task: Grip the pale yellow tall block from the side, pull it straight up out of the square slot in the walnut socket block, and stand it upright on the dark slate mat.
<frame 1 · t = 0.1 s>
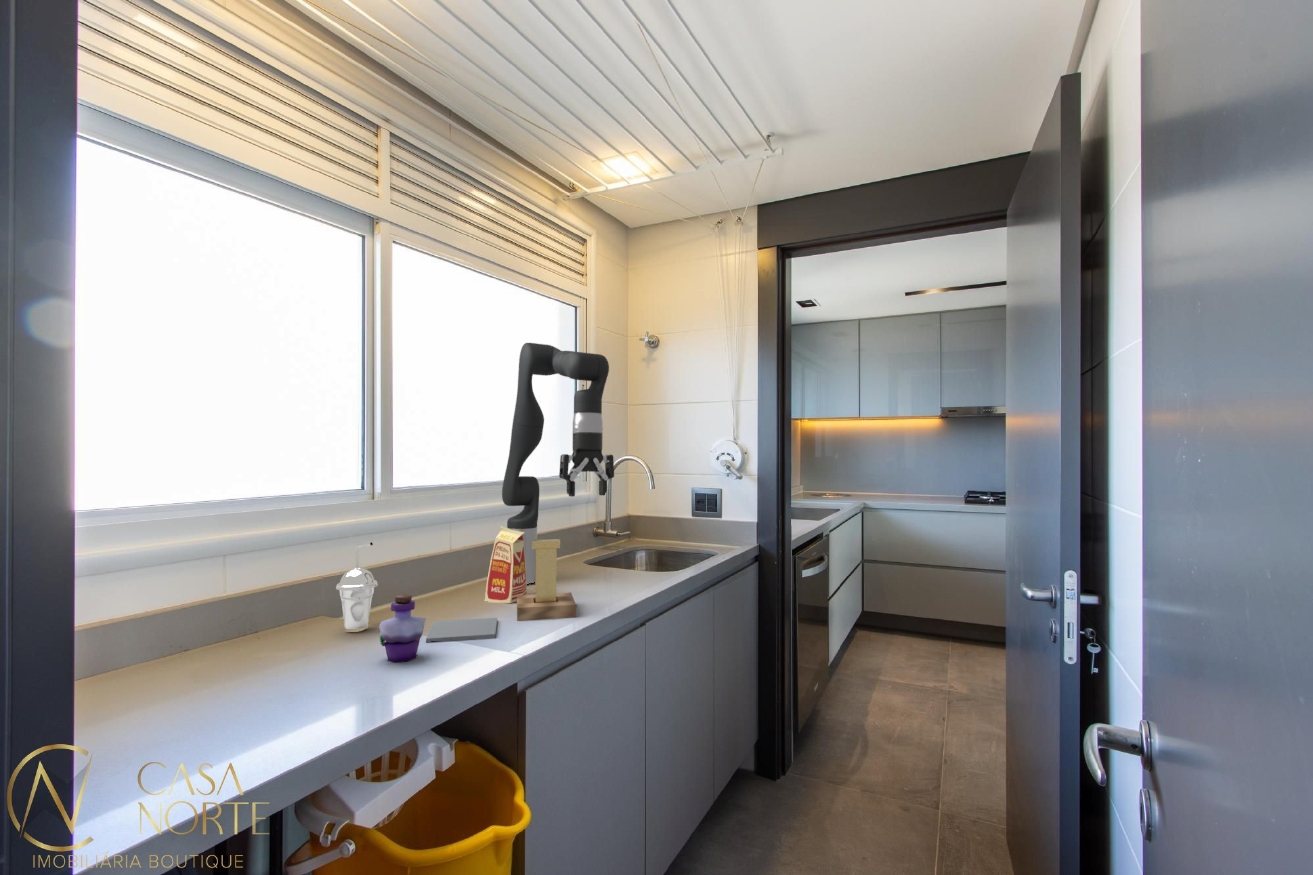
hand: (587, 495, 150), 29 cm above the table, tool pointing down, fingers open, 8 cm apart
socket block: (545, 611, 150), on the table
drinking straw: (356, 631, 134), on the table
pale yellow tall block: (545, 575, 151), in the socket block
slate mat: (463, 631, 133), on the table
milk carton: (508, 599, 165), on the table
potion bottle: (402, 659, 115), on the table
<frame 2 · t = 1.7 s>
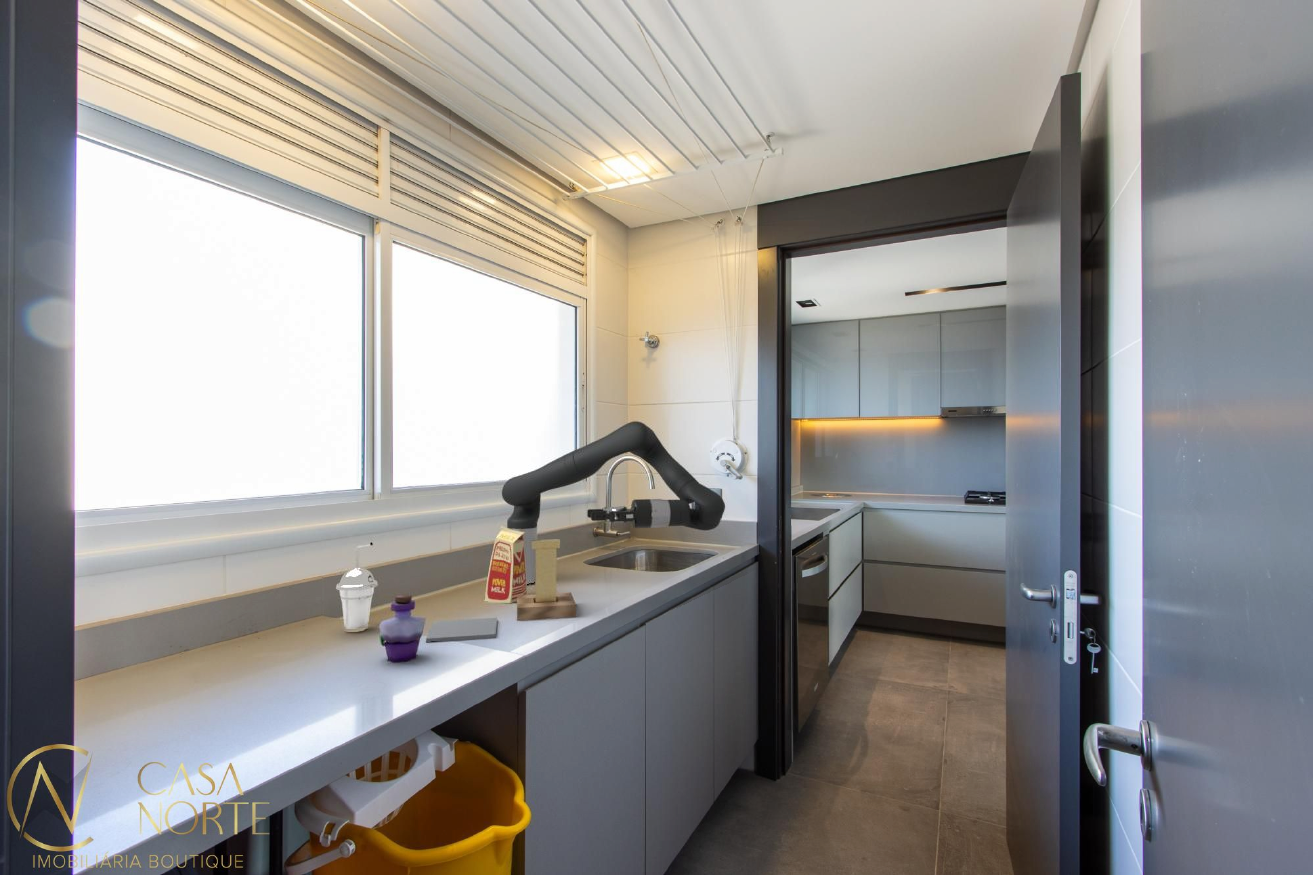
hand: (589, 514, 154), 24 cm above the table, tool horizontal, fingers open, 8 cm apart
nothing on the table moved.
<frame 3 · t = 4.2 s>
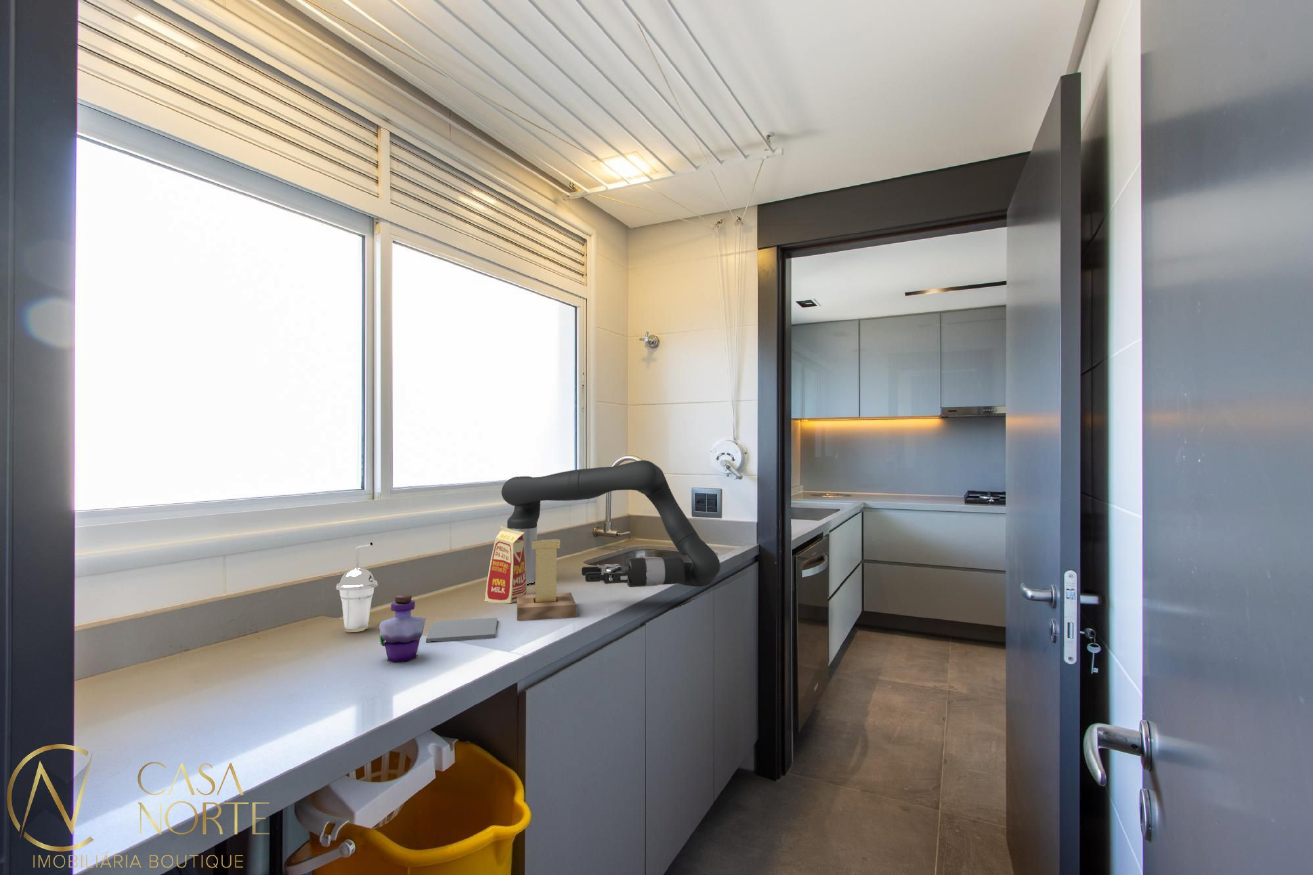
hand: (583, 574, 153), 9 cm above the table, tool horizontal, fingers open, 8 cm apart
nothing on the table moved.
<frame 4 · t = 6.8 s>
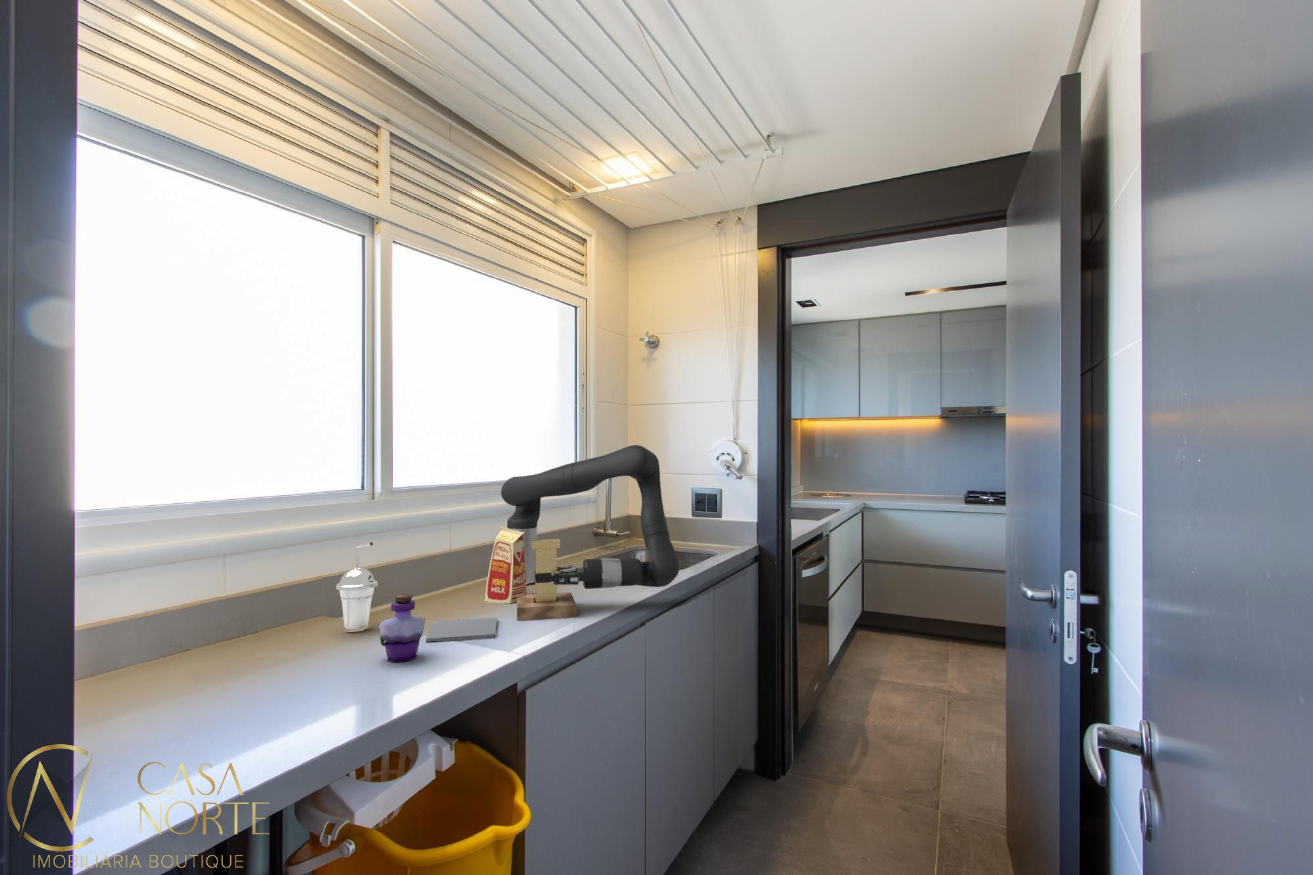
hand: (535, 576, 150), 9 cm above the table, tool horizontal, fingers closed on pale yellow tall block, 5 cm apart
pale yellow tall block: (545, 575, 151), in the socket block, touching gripper
everything else where it was.
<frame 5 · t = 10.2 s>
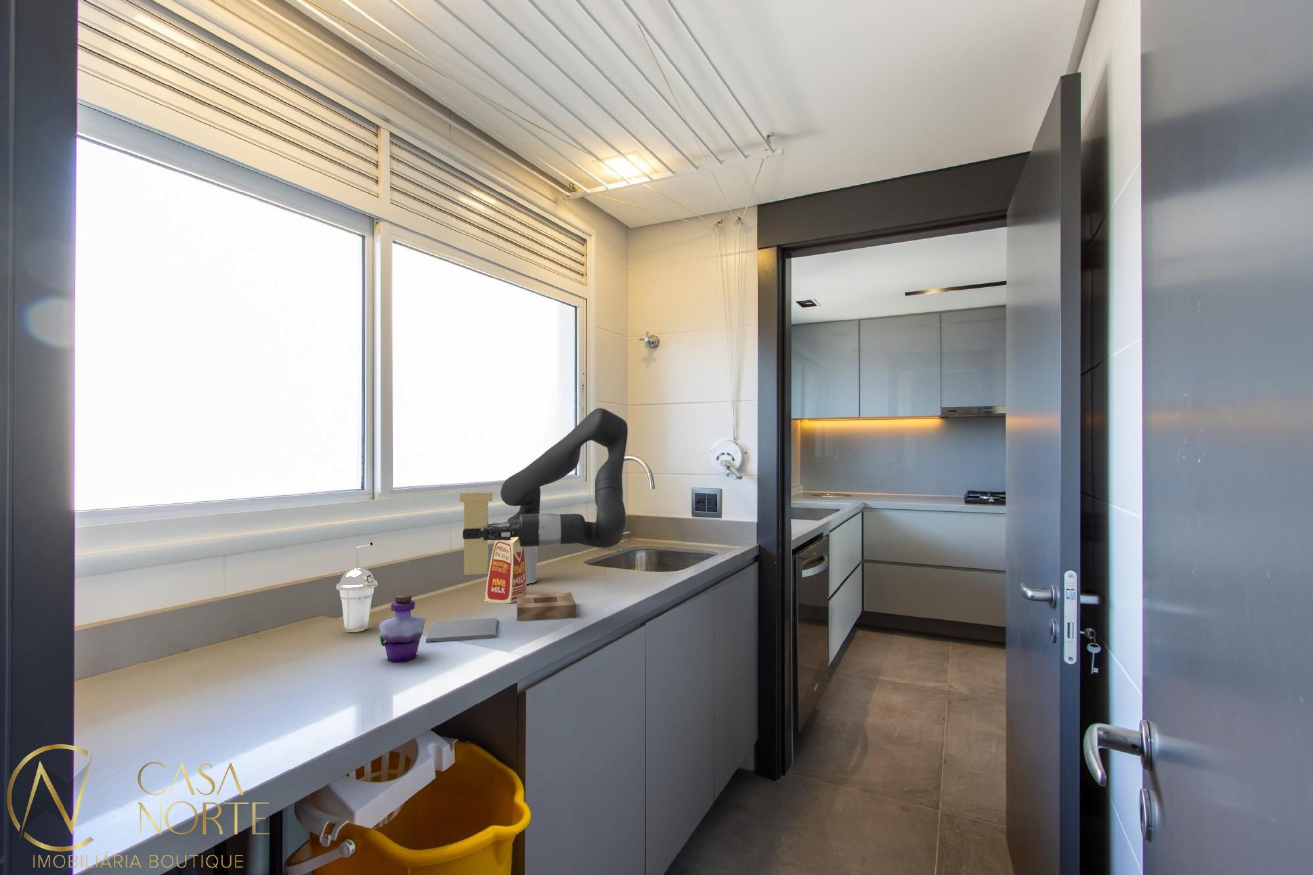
hand: (464, 532, 135), 22 cm above the table, tool horizontal, fingers closed on pale yellow tall block, 5 cm apart
pale yellow tall block: (476, 532, 136), point 22 cm above the table, touching gripper
everything else where it was.
when the fingers open (10 cm above the table, at t = 13.7 s): pale yellow tall block stays where it is, resting on slate mat.
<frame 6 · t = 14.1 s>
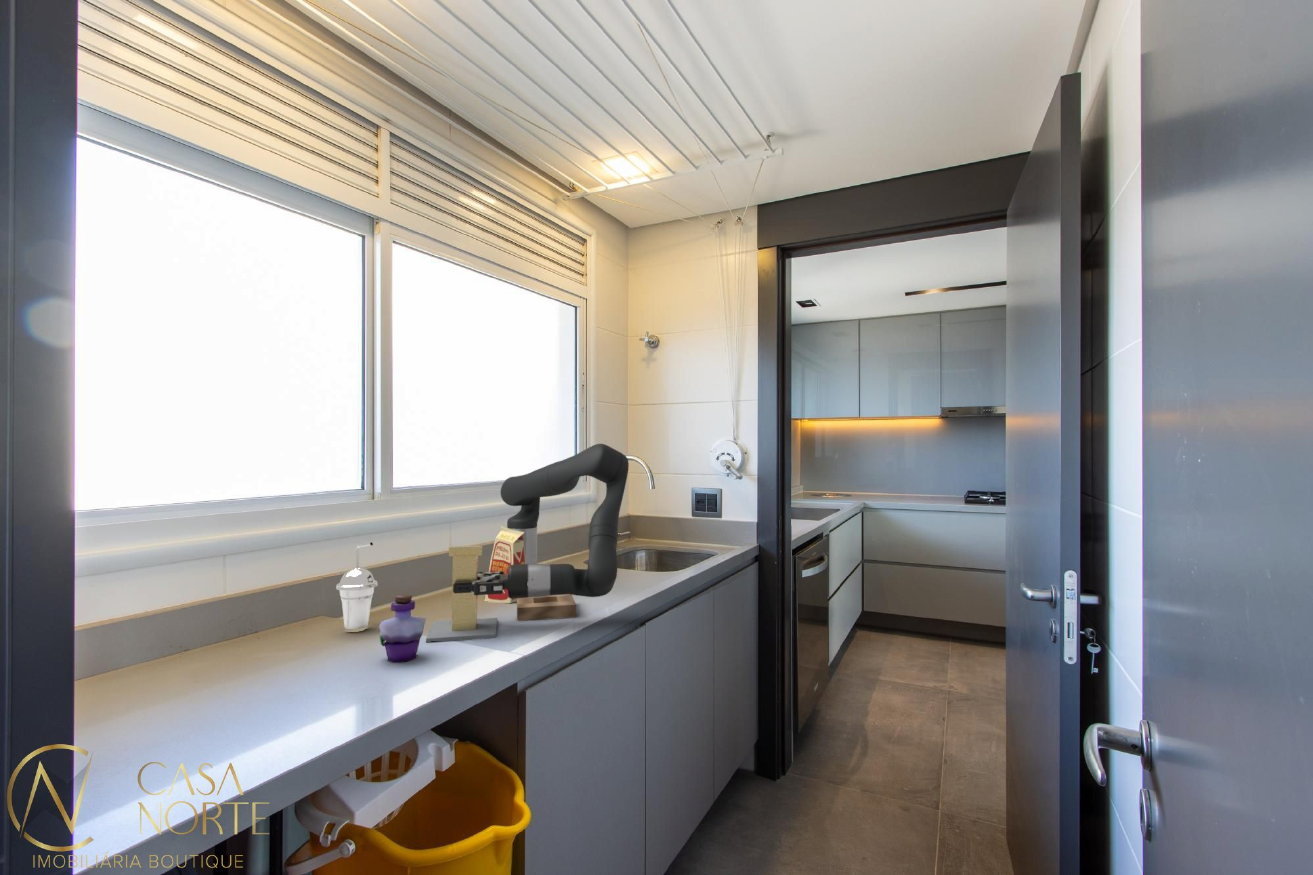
hand: (455, 584, 133), 10 cm above the table, tool horizontal, fingers open, 8 cm apart
pale yellow tall block: (465, 586, 134), on the slate mat, point 10 cm above the table
everything else where it was.
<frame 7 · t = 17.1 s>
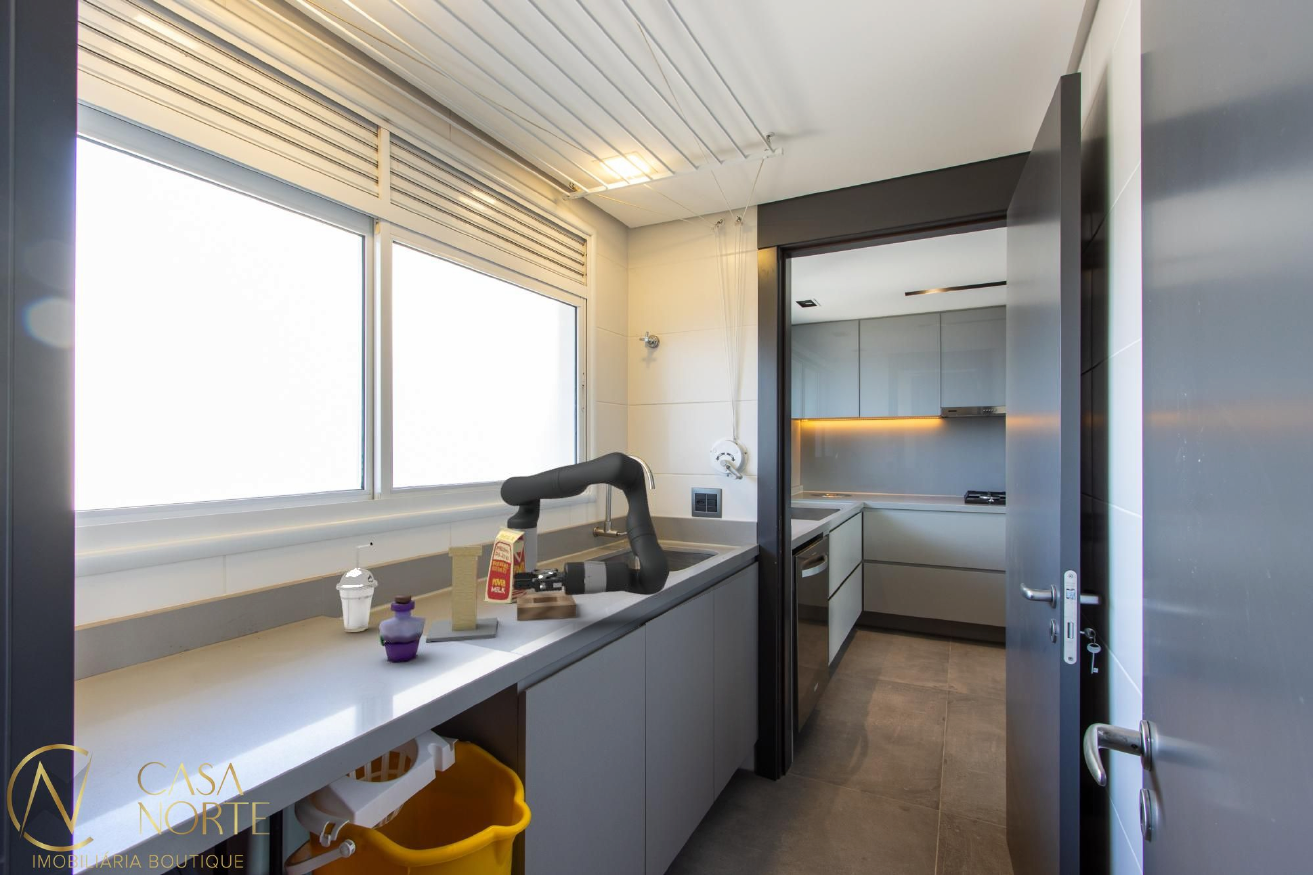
hand: (514, 581, 136), 11 cm above the table, tool horizontal, fingers open, 8 cm apart
nothing on the table moved.
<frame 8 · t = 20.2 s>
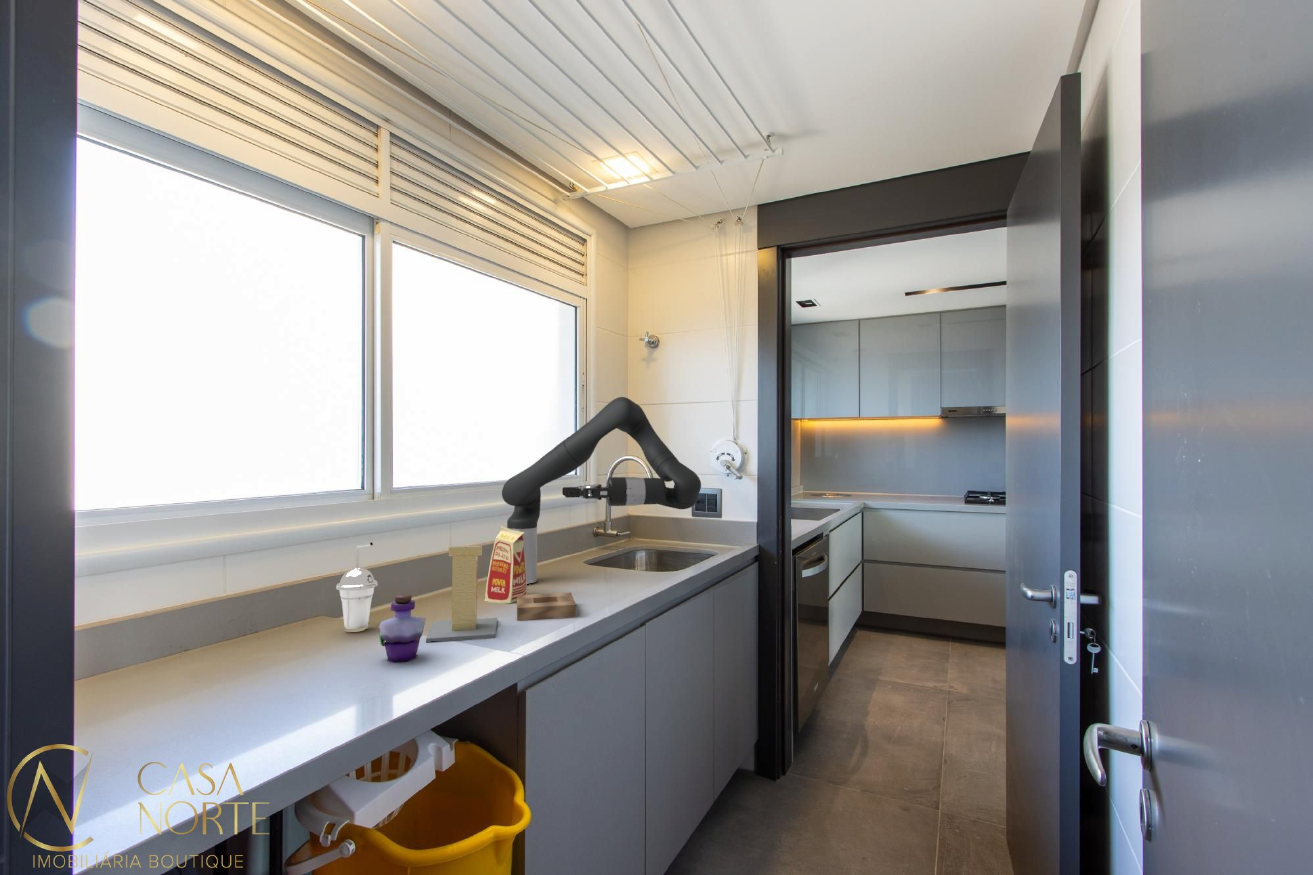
hand: (563, 492, 153), 30 cm above the table, tool horizontal, fingers open, 8 cm apart
nothing on the table moved.
at the end: pale yellow tall block inside the target area on the slate mat (0.2 cm from its centre), point 9.8 cm above the slate mat's base; pale yellow tall block tilted 0°; the gripper is holding nothing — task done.
